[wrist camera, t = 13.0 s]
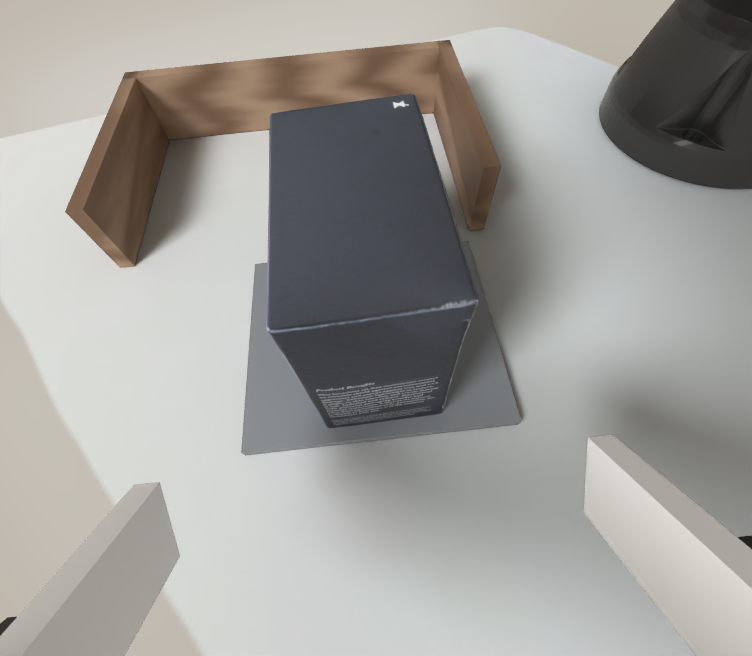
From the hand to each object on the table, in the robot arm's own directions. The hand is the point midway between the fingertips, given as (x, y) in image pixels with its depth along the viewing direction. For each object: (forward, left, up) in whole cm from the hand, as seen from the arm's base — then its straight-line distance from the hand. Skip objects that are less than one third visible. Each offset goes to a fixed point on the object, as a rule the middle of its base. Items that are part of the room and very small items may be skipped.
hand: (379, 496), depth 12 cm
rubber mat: (0, -9, -7) cm, 12 cm away
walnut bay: (+4, -23, -7) cm, 25 cm away
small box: (0, -9, -7) cm, 11 cm away
